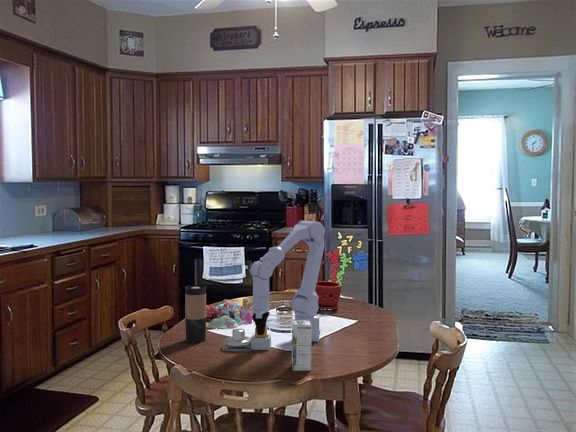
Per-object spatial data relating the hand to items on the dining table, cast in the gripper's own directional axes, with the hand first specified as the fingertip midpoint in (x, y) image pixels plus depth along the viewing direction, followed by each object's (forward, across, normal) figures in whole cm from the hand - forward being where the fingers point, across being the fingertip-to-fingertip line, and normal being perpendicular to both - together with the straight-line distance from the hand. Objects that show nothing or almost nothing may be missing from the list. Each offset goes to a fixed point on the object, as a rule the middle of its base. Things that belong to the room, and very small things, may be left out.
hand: (261, 333), depth 185 cm
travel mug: (+5, -7, -25) cm, 26 cm away
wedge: (+5, 0, 0) cm, 5 cm away
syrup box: (+5, +20, +15) cm, 26 cm away
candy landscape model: (+6, -35, -19) cm, 40 cm away
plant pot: (+5, -61, +24) cm, 66 cm away
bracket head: (+5, -4, 0) cm, 6 cm away
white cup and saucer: (+5, 0, -8) cm, 9 cm away
